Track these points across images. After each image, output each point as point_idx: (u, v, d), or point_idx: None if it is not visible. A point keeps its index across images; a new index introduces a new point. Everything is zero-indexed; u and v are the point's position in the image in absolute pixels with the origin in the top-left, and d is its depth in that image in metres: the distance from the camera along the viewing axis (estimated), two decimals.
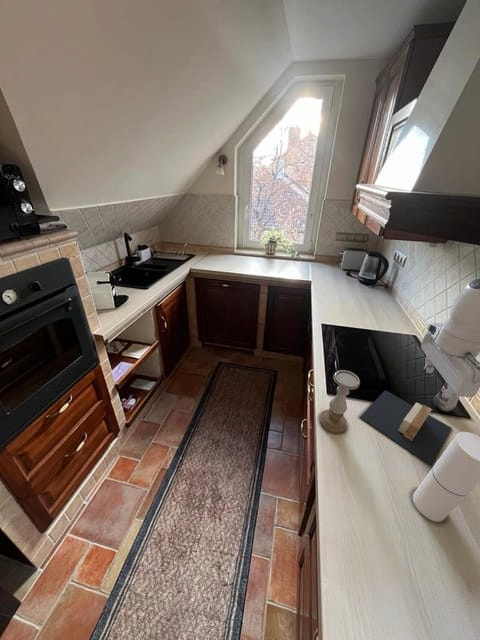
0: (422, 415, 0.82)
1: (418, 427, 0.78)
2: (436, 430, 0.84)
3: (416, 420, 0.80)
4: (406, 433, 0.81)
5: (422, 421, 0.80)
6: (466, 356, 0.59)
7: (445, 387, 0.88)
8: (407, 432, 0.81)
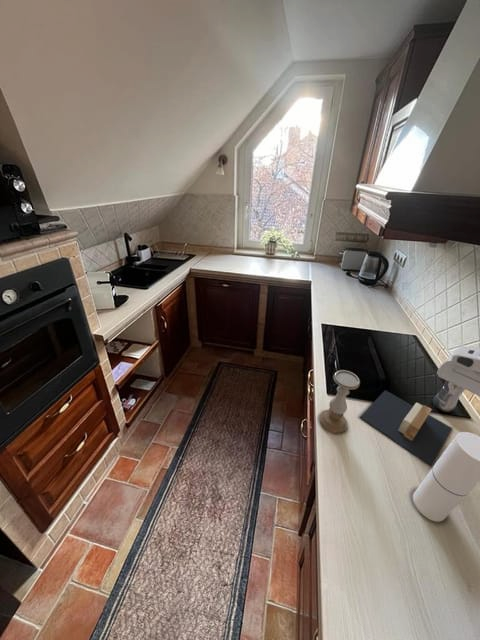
0: (422, 415, 0.82)
1: (418, 427, 0.78)
2: (436, 430, 0.84)
3: (416, 420, 0.80)
4: (406, 433, 0.81)
5: (422, 421, 0.80)
6: None
7: (445, 387, 0.88)
8: (407, 432, 0.81)
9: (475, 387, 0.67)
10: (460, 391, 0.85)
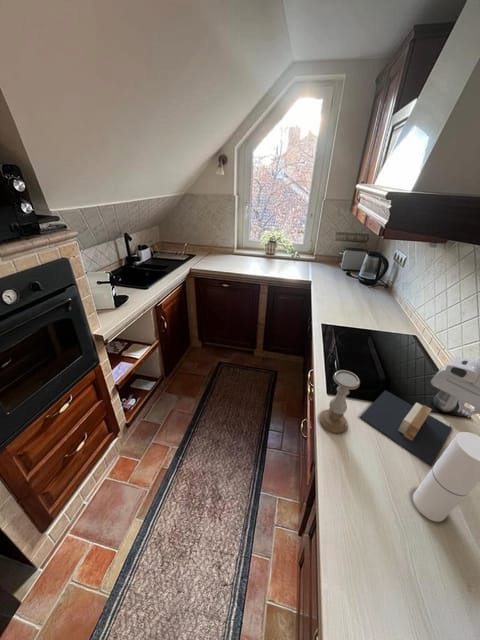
0: (422, 415, 0.82)
1: (418, 427, 0.78)
2: (436, 430, 0.84)
3: (416, 420, 0.80)
4: (406, 433, 0.81)
5: (422, 421, 0.80)
6: None
7: None
8: (407, 432, 0.81)
9: (468, 397, 0.69)
10: None
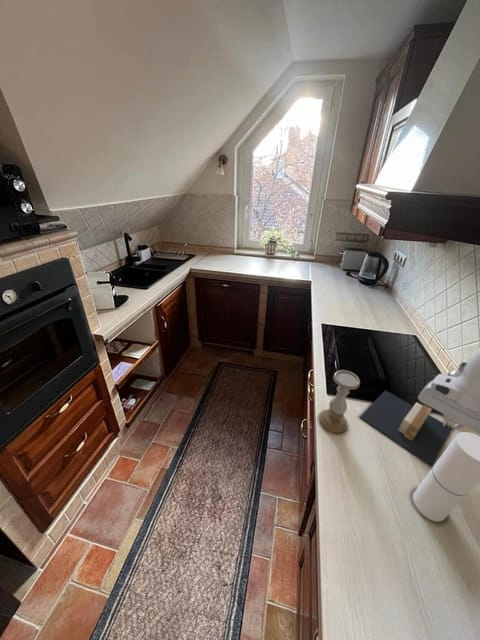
0: (422, 415, 0.82)
1: (418, 427, 0.78)
2: (436, 430, 0.84)
3: (416, 420, 0.80)
4: (406, 433, 0.81)
5: (422, 421, 0.80)
6: None
7: None
8: (407, 432, 0.81)
9: (451, 412, 0.73)
10: None
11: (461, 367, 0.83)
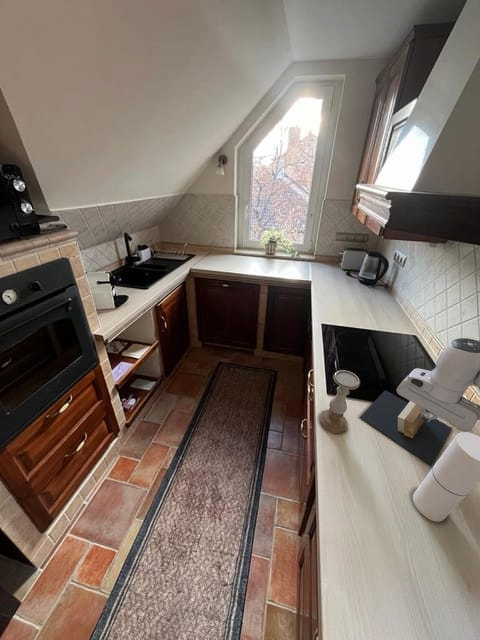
0: (417, 410, 0.83)
1: (412, 421, 0.79)
2: (436, 430, 0.84)
3: (410, 415, 0.81)
4: (405, 431, 0.81)
5: (416, 415, 0.81)
6: (461, 400, 0.71)
7: None
8: (405, 430, 0.81)
9: (426, 404, 0.78)
10: None
11: None
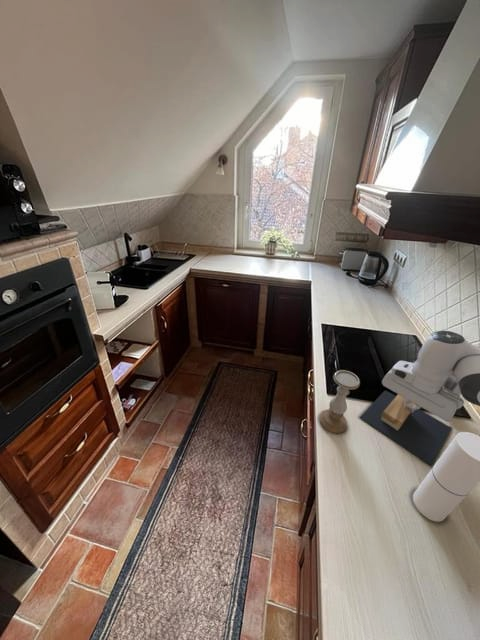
0: (391, 403, 0.90)
1: (383, 411, 0.86)
2: (436, 430, 0.84)
3: None
4: (395, 424, 0.83)
5: (388, 405, 0.88)
6: (441, 390, 0.74)
7: (445, 387, 0.88)
8: (393, 422, 0.84)
9: (409, 395, 0.81)
10: (460, 391, 0.85)
11: None
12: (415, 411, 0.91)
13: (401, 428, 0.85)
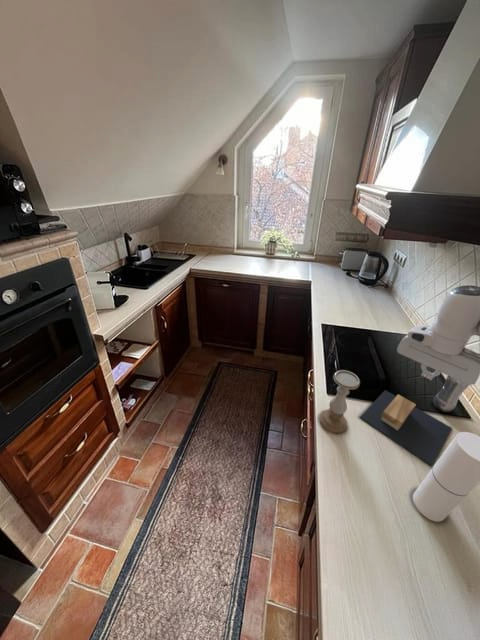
0: (391, 403, 0.90)
1: (383, 411, 0.86)
2: (436, 430, 0.84)
3: None
4: (395, 424, 0.83)
5: (388, 405, 0.88)
6: (464, 351, 0.69)
7: (445, 387, 0.88)
8: (393, 422, 0.84)
9: (428, 360, 0.75)
10: (460, 391, 0.85)
11: None
12: (415, 411, 0.91)
13: (401, 428, 0.85)
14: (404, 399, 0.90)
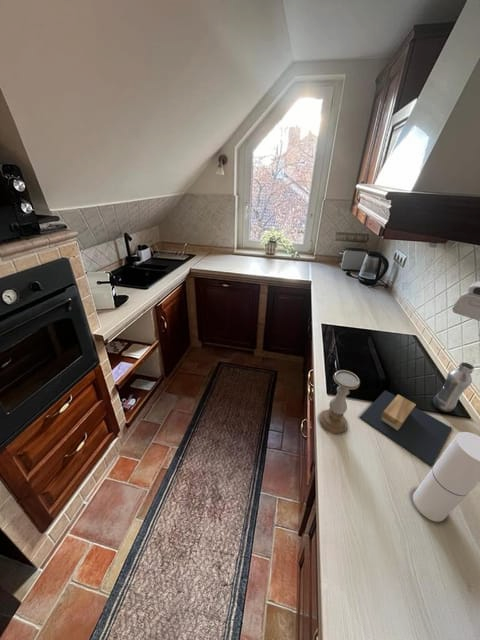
0: (391, 403, 0.90)
1: (383, 411, 0.86)
2: (436, 430, 0.84)
3: None
4: (395, 424, 0.83)
5: (388, 405, 0.88)
6: None
7: (445, 387, 0.88)
8: (393, 422, 0.84)
9: None
10: (460, 391, 0.85)
11: (461, 367, 0.83)
12: (415, 411, 0.91)
13: (401, 428, 0.85)
14: (404, 399, 0.90)
